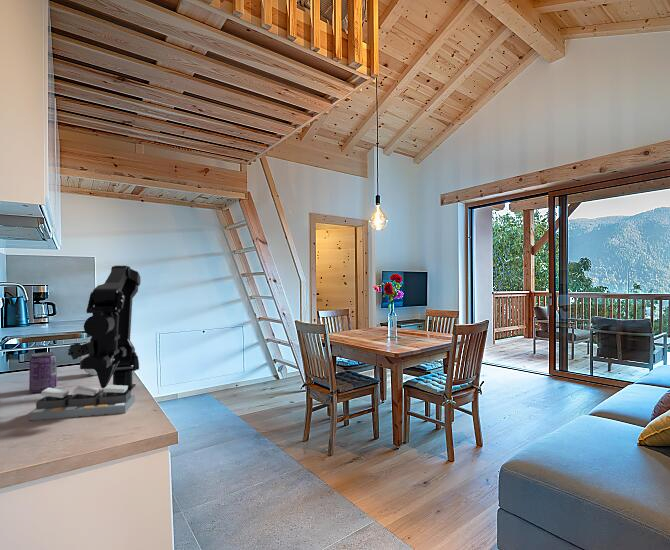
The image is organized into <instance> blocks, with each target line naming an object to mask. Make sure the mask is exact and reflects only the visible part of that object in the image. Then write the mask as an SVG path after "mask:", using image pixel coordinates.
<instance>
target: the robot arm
mask: <svg viewBox="0 0 670 550" xmlns="http://www.w3.org/2000/svg"><path fill="white" fill-rule="evenodd" d="M140 285H141V275H140V273H139V272H138V271H137V270H135V269H132V268H131V267H130V266H129V265H114V266H113V265H112V266H111V269H110V273H109V274H108V277H107V279H106V280H105V282H104V283H102V284H98V285H97V286H96V287H95V288H93V290H92V292H90V295H89V299H88V303H87V309H86V314H92V315H91V316H90V317H88V318H86V320H85V321H84V323H83V330H84V332H85V334H86V335H88V336H89V337H90V336H91V337H92V338H91V339H90V342H88V343H86V342H85V343H82V344H81V343H80V342H75V343H73V344H70V346H69V348H68V352H67V355H68V356H70V357H71V358H72V359H71V360H76V359H78V358H80V357H81V358H82V356H84V355H87V354H89V356H88V357H85V358H84V359H83V360H82V359H81V360H80V362H79V369H80V370H84V369H94V370H96V372H97V375H96V376H97V377H98V378H97V379H98V382H99V385H100V388H101V389H104V388H105V387H106V386H107V385H109V383H110V381H111V379H112V385H123V386H128V389H127V390H126V391H132V390H133V389H134V388H135V387H136V383H133V372H135V371H138V370H140V360H139V356H138V355H137V354H138V353H137V352H136V348H135V346H134V345H133V343H132V341H131V331H132V315H133V313H132V312H133V298H134V297H135V296H136V294H137V293H138V292H139V286H140Z"/></svg>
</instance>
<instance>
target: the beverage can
mask: <svg viewBox="0 0 670 550" xmlns="http://www.w3.org/2000/svg"><path fill="white" fill-rule="evenodd" d="M55 354H56V352H54V351H44V352H36V353H32V354H31V357H30V358H29V365H28V366H29V372H28V373H29V374H28V376H29V379H28V381H29V382H28V383H29V384H28V385H29V387H28V389H29V391H30V392H33V393H42V391H43V390H45V389H47V388H55V389H56V387H57V369H58V367H57V360H58V359H57V356H56V355H55Z"/></svg>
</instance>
